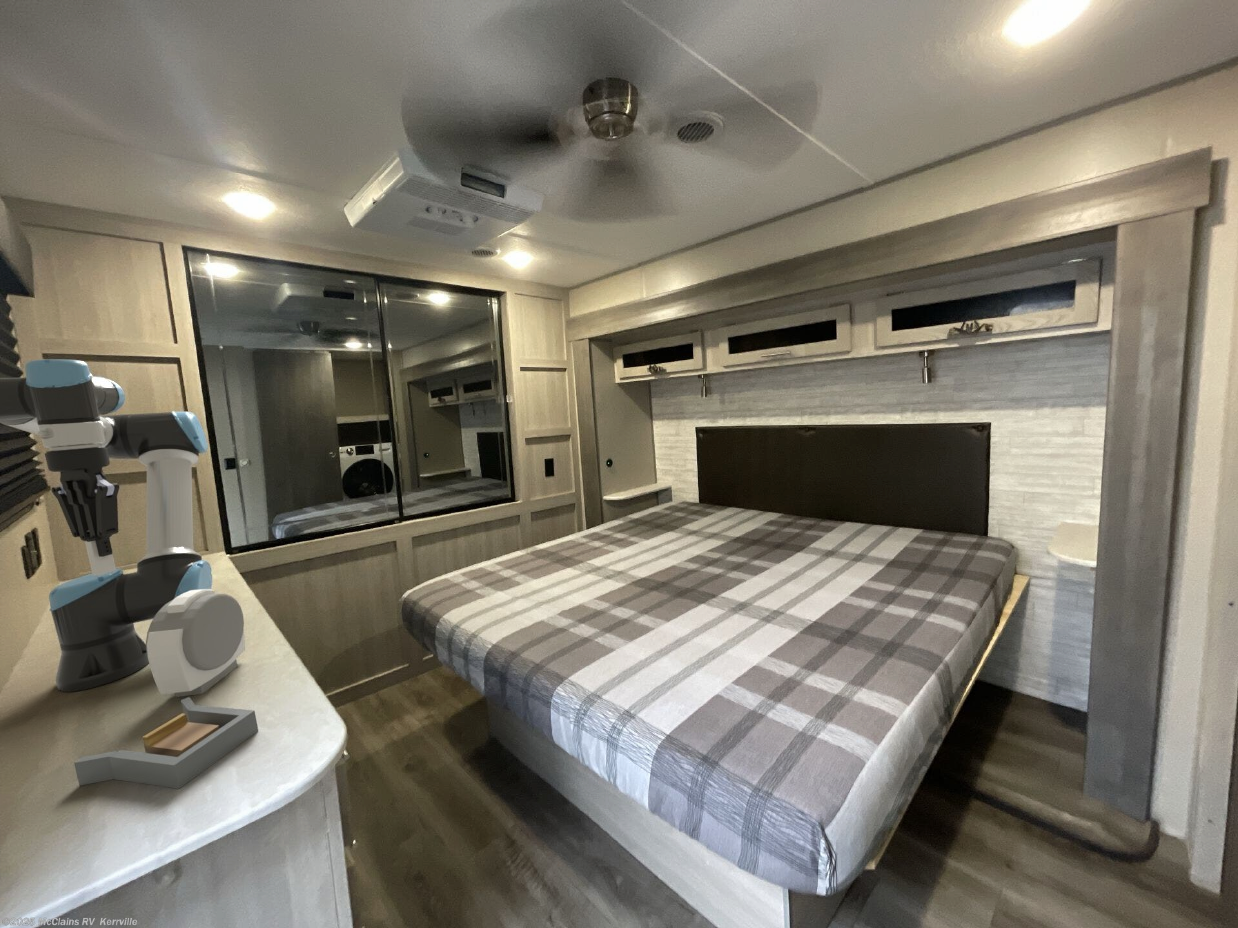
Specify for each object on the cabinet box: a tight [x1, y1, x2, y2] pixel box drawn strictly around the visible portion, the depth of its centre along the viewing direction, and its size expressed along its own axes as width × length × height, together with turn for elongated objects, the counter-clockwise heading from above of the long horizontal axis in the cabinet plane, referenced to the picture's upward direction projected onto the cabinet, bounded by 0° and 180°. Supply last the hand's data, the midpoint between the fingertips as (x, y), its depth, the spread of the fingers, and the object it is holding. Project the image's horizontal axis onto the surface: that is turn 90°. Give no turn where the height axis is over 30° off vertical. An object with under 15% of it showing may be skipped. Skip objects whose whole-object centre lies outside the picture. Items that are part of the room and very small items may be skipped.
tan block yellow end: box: [142, 713, 220, 757], centre depth 82 cm, size 8×6×5 cm
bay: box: [73, 696, 259, 789], centre depth 82 cm, size 18×17×4 cm
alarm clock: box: [145, 588, 246, 698], centre depth 103 cm, size 18×8×20 cm, turn 5°
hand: (104, 572), depth 90 cm, fingers closed
